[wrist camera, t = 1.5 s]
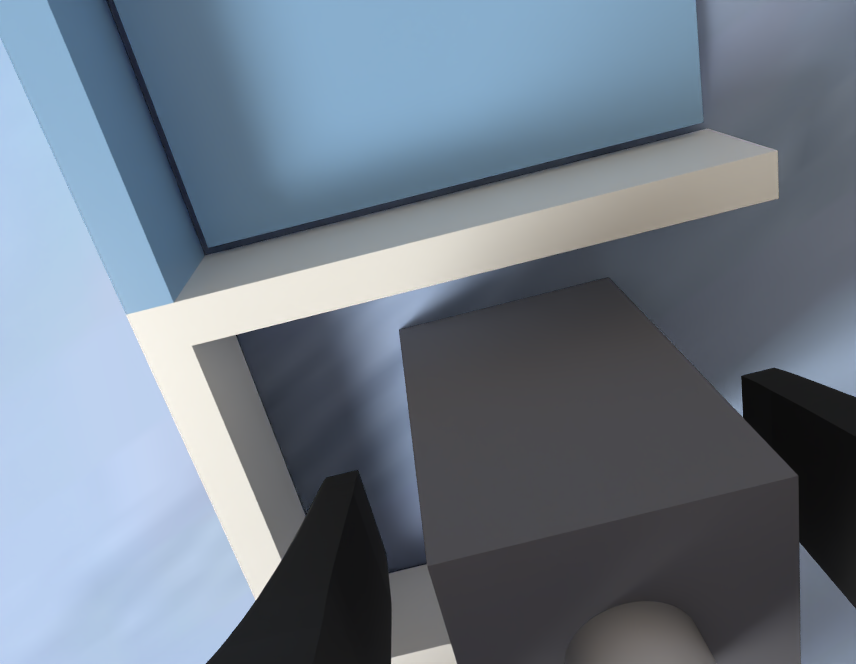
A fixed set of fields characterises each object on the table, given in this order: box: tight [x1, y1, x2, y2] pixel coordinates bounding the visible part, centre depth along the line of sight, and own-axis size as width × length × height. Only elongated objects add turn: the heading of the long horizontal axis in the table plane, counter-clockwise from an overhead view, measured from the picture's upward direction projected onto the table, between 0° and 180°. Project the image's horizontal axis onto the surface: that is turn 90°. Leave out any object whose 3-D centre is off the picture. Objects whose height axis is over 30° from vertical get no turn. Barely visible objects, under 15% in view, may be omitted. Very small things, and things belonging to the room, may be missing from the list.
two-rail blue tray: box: [0, 0, 779, 664], centre depth 13 cm, size 18×11×2 cm, turn 13°
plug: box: [399, 277, 801, 664], centre depth 12 cm, size 4×4×8 cm
